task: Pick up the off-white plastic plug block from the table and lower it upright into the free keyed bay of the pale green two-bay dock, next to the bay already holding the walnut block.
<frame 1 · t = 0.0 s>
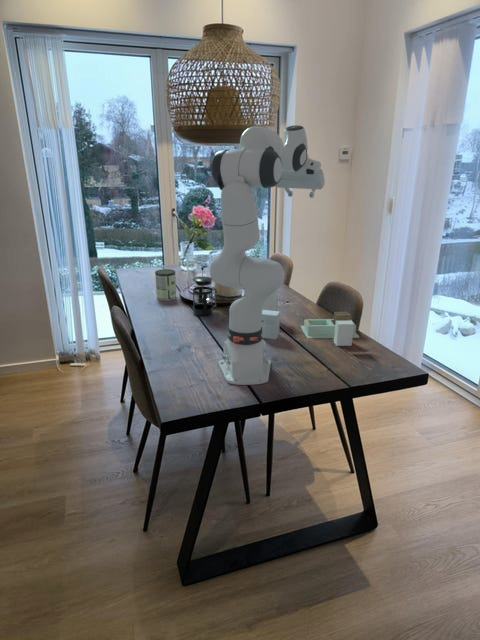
hand: (301, 196, 185), 54 cm above the table, tool tilted 30°, fingers open, 8 cm apart
walnut block: (340, 331, 185), point 1 cm above the table, touching dock
french press: (204, 313, 207), on the table
milk bottle: (267, 321, 198), on the table
coffee can: (166, 298, 229), on the table
plug block: (342, 346, 173), on the table
small box: (268, 336, 181), on the table
dock: (328, 333, 185), on the table
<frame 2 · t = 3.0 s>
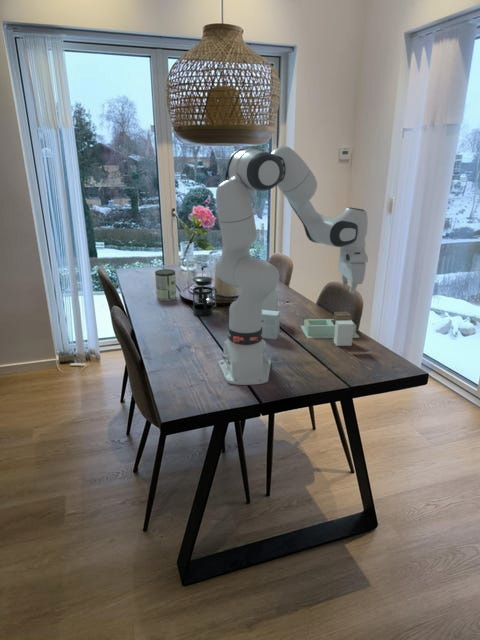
hand: (348, 289, 165), 23 cm above the table, tool pointing down, fingers open, 8 cm apart
nothing on the table moved.
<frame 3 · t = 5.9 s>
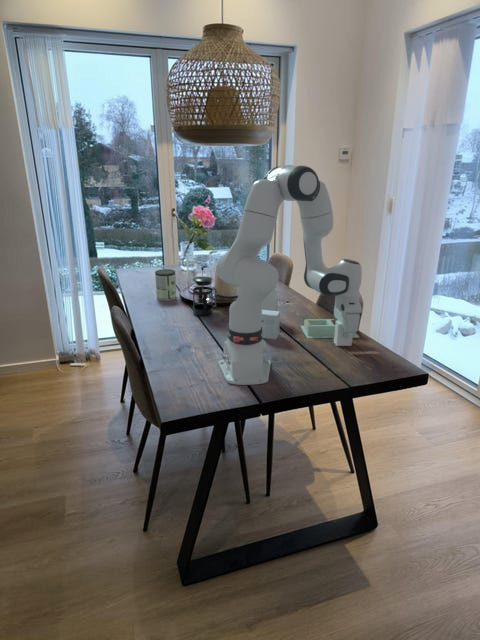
hand: (343, 335, 171), 5 cm above the table, tool pointing down, fingers closed on plug block, 4 cm apart
plug block: (342, 345, 173), on the table, touching gripper
everything else where it was.
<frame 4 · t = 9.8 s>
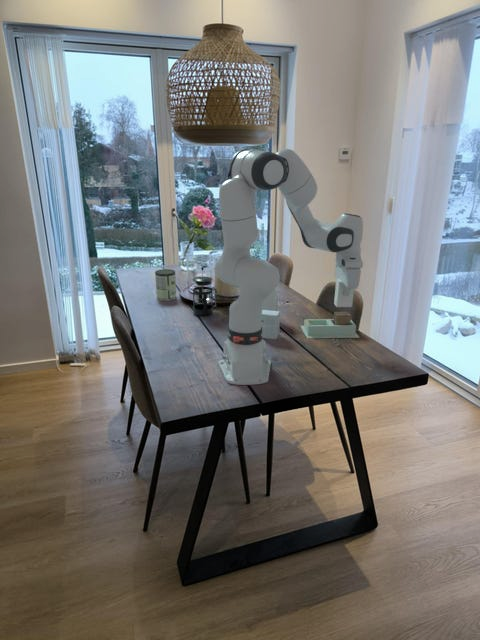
hand: (344, 293, 167), 21 cm above the table, tool pointing down, fingers closed on plug block, 4 cm apart
plug block: (343, 305, 169), point 16 cm above the table, touching gripper
everything else where it was.
when the fingers open (7 cm above the table, at t = 13.9 s): plug block drops 1 cm, resting on dock.
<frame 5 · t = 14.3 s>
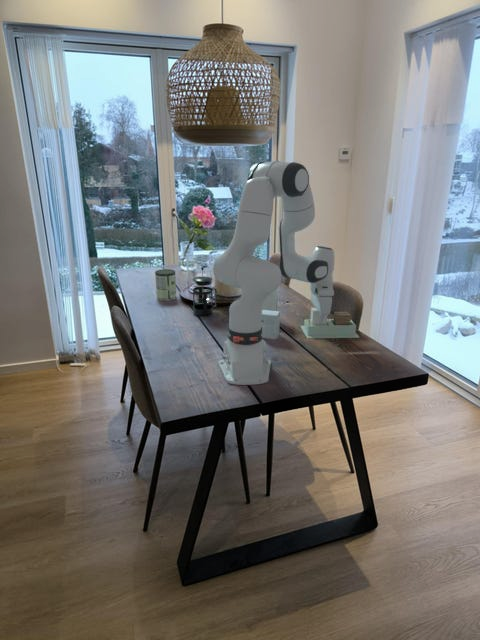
hand: (318, 318, 182), 7 cm above the table, tool pointing down, fingers open, 8 cm apart
plug block: (317, 331, 184), point 1 cm above the table, touching dock
everything else where it was.
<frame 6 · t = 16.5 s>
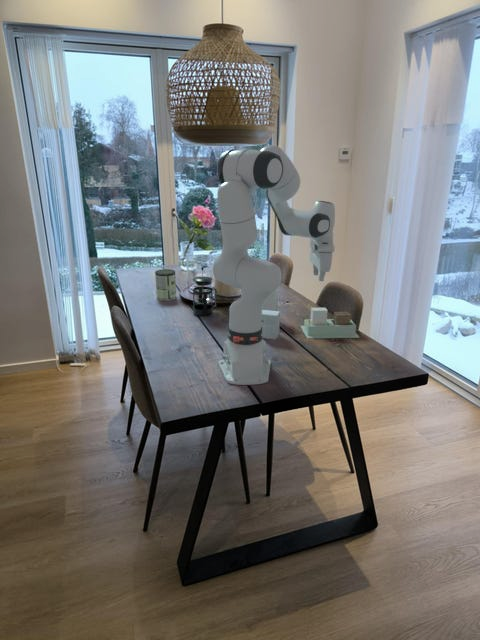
hand: (318, 277, 176), 24 cm above the table, tool pointing down, fingers open, 8 cm apart
nothing on the table moved.
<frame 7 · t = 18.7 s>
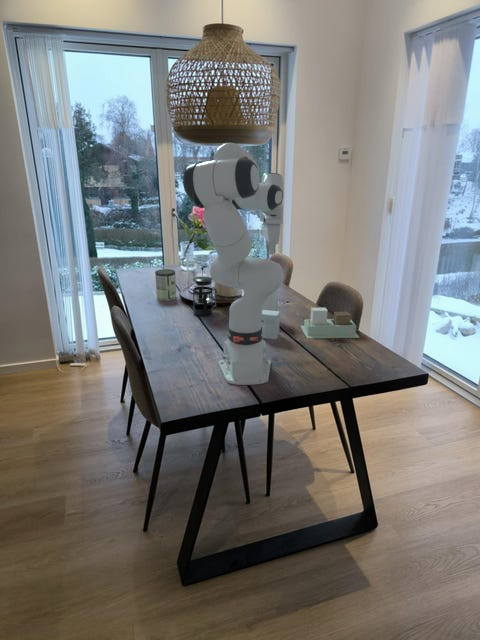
hand: (269, 251, 175), 34 cm above the table, tool pointing down, fingers open, 8 cm apart
nothing on the table moved.
at the end: plug block 0.0 cm from the target spot on the dock, point 1.0 cm above the dock's base; plug block tilted 0°; the gripper is holding nothing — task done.
